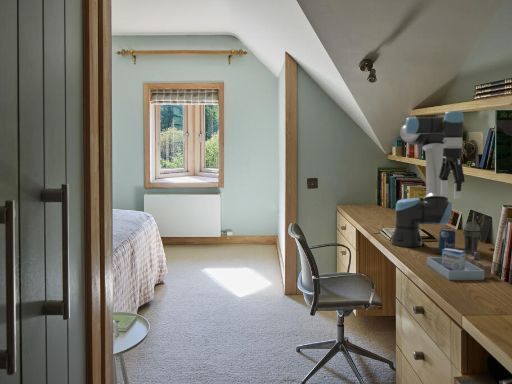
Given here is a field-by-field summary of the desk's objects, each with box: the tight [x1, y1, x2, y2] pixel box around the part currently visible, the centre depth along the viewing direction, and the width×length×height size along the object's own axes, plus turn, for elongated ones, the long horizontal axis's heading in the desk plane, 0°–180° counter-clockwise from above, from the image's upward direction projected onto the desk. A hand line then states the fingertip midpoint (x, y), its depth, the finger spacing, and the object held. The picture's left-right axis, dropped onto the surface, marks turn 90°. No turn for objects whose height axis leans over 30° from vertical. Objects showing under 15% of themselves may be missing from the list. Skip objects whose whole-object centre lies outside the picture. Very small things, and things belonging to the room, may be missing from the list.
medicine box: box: [441, 248, 466, 271], centre depth 202 cm, size 8×4×9 cm, turn 47°
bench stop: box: [465, 251, 492, 279], centre depth 202 cm, size 18×3×8 cm, turn 2°
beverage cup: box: [463, 211, 481, 256], centre depth 231 cm, size 7×7×20 cm
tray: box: [426, 256, 485, 281], centre depth 202 cm, size 22×14×4 cm, turn 2°
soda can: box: [438, 227, 456, 256], centre depth 232 cm, size 7×7×12 cm
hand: (450, 196), depth 216 cm, fingers open, 13 cm apart
